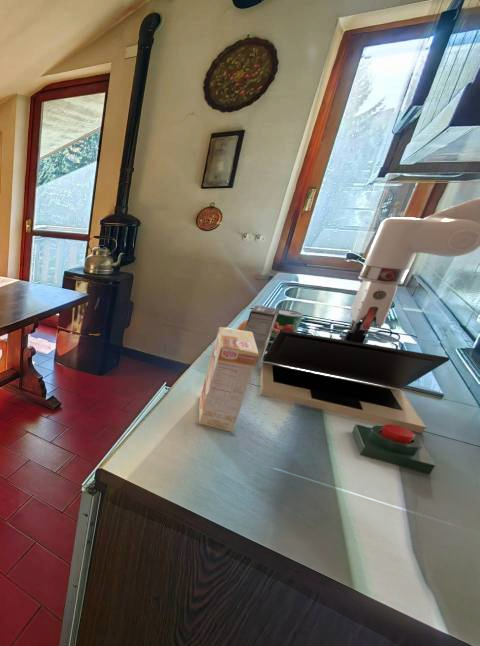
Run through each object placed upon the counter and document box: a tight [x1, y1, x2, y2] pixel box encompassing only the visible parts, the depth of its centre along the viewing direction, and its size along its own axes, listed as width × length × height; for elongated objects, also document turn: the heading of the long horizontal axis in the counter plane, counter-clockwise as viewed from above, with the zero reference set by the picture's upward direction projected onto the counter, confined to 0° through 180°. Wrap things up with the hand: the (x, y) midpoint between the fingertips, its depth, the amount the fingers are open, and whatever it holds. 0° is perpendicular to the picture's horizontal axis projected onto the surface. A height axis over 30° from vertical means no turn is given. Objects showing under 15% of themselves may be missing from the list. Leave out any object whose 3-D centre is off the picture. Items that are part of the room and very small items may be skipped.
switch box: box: [351, 423, 436, 475], centre depth 80 cm, size 10×10×4 cm
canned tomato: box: [268, 308, 304, 345], centre depth 135 cm, size 8×8×11 cm
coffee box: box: [245, 305, 281, 365], centre depth 122 cm, size 9×6×16 cm
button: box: [381, 424, 416, 443], centre depth 79 cm, size 4×4×2 cm
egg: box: [236, 319, 248, 331], centre depth 133 cm, size 7×7×9 cm
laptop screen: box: [262, 330, 450, 390], centre depth 101 cm, size 21×30×1 cm
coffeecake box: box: [198, 326, 259, 433], centre depth 90 cm, size 15×7×20 cm, turn 150°
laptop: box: [259, 361, 427, 434], centre depth 102 cm, size 21×30×2 cm
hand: (350, 347), depth 97 cm, fingers closed
